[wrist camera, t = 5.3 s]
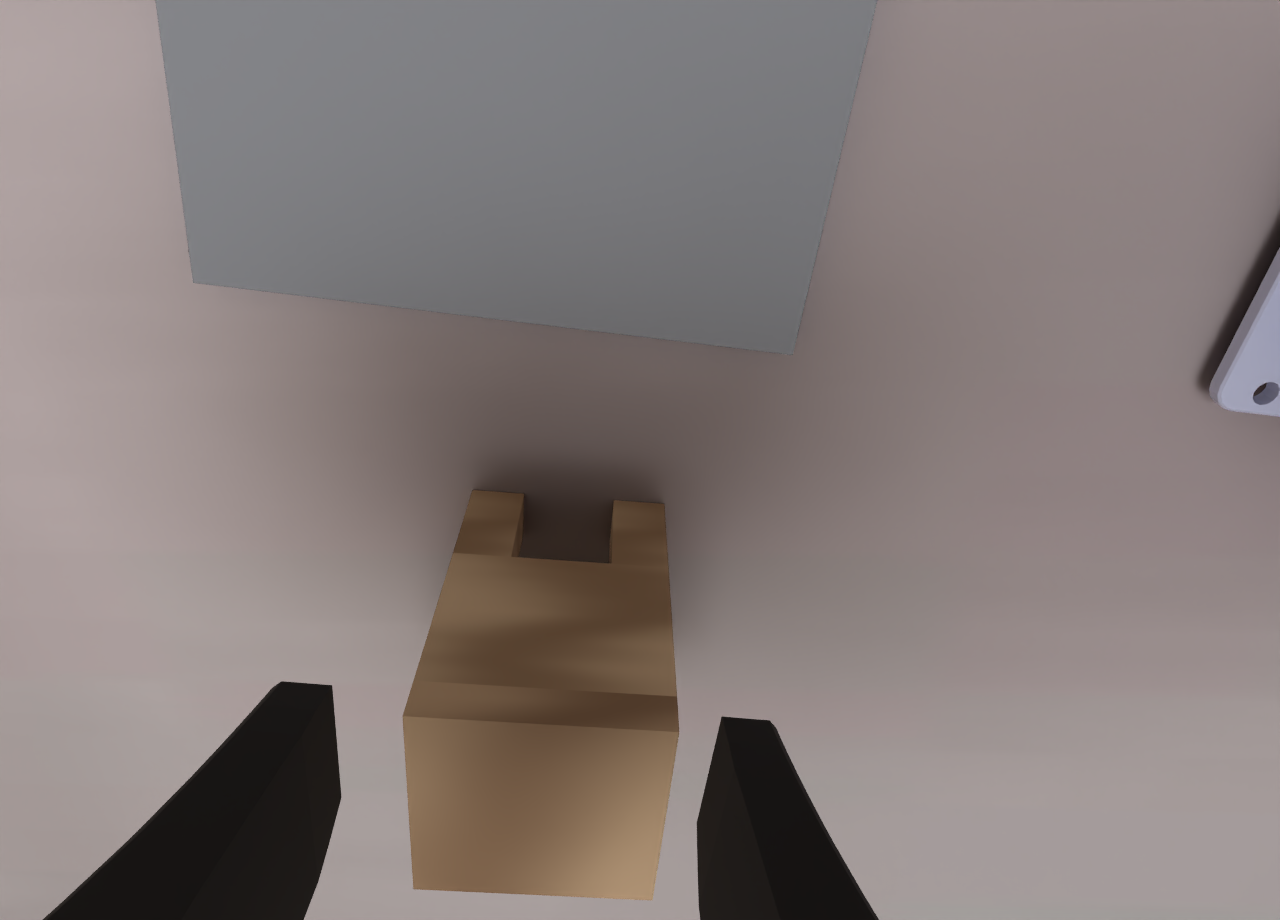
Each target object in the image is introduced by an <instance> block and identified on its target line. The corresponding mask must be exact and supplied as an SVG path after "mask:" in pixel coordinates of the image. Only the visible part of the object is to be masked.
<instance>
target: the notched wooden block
mask: <svg viewBox="0 0 1280 920" xmlns="http://www.w3.org/2000/svg"><path fill="white" fill-rule="evenodd" d="M523 516H524V494H522V493H508V492H494V491H480V490H472V493H471V497H470V500H469V503H468V506H467V510H466V513H465V516H464V519H463V522H462V526H461V529H460V532H459V535H458V539H457V542H456V545H455V548H454V552H453V555H452V558H451V561H450V565H449V568H448V571H447V574H446V578H445V581H444V584H443V587H442V590H441V594H440V597H439V600H438V603H437V607H436V610H435V613H434V616H433V620H432V623H431V626H430V629H429V633H428V636H427V639H426V642H425V646H424V649H423V652H422V655H421V658H420V662H419V665H418V668H417V671H416V675H415V678H414V681H413V684H412V688H411V691H410V694H409V697H408V701H407V704H406V707H405V710H404V714H403V729H404V745H405V761H406V777H407V793H408V809H409V825H410V841H411V857H412V873H413V889H422V890H443V891H464V892H486V893H507V894H528V895H550V896H571V897H592V898H613V899H635V900H652V899H653V893H654V887H655V881H656V874H657V868H658V862H659V856H660V849H661V843H662V837H663V831H664V824H665V818H666V812H667V806H668V799H669V793H670V787H671V781H672V774H673V768H674V762H675V756H676V749H677V743H678V737H679V721H678V705H677V690H676V675H675V659H674V644H673V629H672V613H671V598H670V583H669V568H668V552H667V537H666V522H665V506H664V504H660V503H646V502H633V501H619V500H614V502H613V513H612V524H611V535H610V552H609V563H595V562H580V561H566V560H551V559H536V558H521V557H519V554H520V548H521V543H522V538H523Z"/></svg>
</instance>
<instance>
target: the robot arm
mask: <svg viewBox="0 0 1280 920" xmlns="http://www.w3.org/2000/svg"><path fill="white" fill-rule="evenodd" d="M1264 383H1267V385H1266V388H1265V389H1264V390H1263V391H1262V392H1261V393H1259V394H1258V395H1256V396H1253V395H1254V392H1255V391H1256V389H1257V388H1258V387H1259V386H1261V385H1263V384H1264ZM1209 393H1210V397H1211V398H1212V399H1213V401H1214V402H1215V403H1217V404H1218V405H1219V406H1221V407H1222V408H1224V409H1227V410H1229V411H1235V412H1243V413H1252V414H1260V415H1268V416H1276V417H1280V248H1279V250H1278V252H1277V254H1276V256H1275V258H1274V260H1273V262H1272V264H1271V265H1270V267H1269V269H1268V271H1267V273H1266V275H1265V277H1264V279H1263V281H1262V283H1261V285H1260V287H1259V289H1258V291H1257V293H1256V295H1255V297H1254V299H1253V301H1252V303H1251V305H1250V307H1249V309H1248V310H1247V312H1246V314H1245V316H1244V318H1243V320H1242V322H1241V324H1240V326H1239V328H1238V330H1237V332H1236V334H1235V336H1234V338H1233V340H1232V342H1231V344H1230V346H1229V348H1228V350H1227V352H1226V354H1225V355H1224V357H1223V359H1222V361H1221V363H1220V365H1219V367H1218V369H1217V371H1216V373H1215V375H1214V377H1213V379H1212V381H1211V384H1210V388H1209ZM340 800H341V788H340V776H339V764H338V751H337V739H336V727H335V715H334V703H333V691H332V685H319V684H307V683H295V682H282V681H281V682H280V683H279V684H277V685H276V686H274V687H273V688H272V689H271V690H270V691H269V692H268V694H267V695H266V696H265V697H264V698H263V699H262V700H261V701H260V703H259V704H258V705H257V706H256V707H255V708H254V709H253V710H252V712H251V713H250V714H249V715H248V716H247V717H246V718H245V719H244V720H243V722H242V723H241V724H240V725H239V726H238V727H237V728H236V729H235V730H234V732H233V733H232V734H231V735H230V736H229V737H228V738H227V739H226V740H225V741H224V742H223V744H222V745H221V746H220V747H219V748H218V749H217V750H216V751H215V752H214V753H213V754H212V755H211V756H210V757H209V759H208V760H207V761H206V762H205V763H204V764H203V765H202V766H201V767H200V768H199V769H198V770H197V771H196V772H195V773H194V774H193V776H192V777H191V778H190V779H189V780H188V781H187V782H186V783H185V784H184V785H183V786H182V787H181V788H180V789H179V790H178V791H177V792H176V793H175V794H174V795H173V796H172V797H171V798H170V799H169V800H168V801H167V802H166V803H165V804H164V805H163V806H162V807H161V808H160V809H159V810H158V811H157V812H156V813H155V814H154V815H153V816H152V817H151V818H150V819H149V820H148V821H147V822H146V823H145V824H144V825H143V826H142V827H141V828H140V829H139V830H138V831H137V832H136V833H135V834H134V835H133V836H132V837H131V838H130V839H129V840H128V841H127V842H126V843H125V844H124V845H123V846H122V847H121V848H120V849H119V850H118V851H116V852H115V853H114V854H113V855H112V856H111V857H110V858H109V859H108V860H107V861H106V862H105V863H104V864H103V865H101V866H100V867H99V868H98V869H97V870H96V871H95V872H94V873H93V874H92V875H91V876H90V877H89V878H88V879H86V880H85V881H84V882H83V883H82V884H81V885H80V886H79V887H78V888H77V889H76V890H75V891H74V892H73V893H71V894H70V895H69V896H68V897H67V898H66V899H65V900H64V901H63V902H62V903H61V904H60V905H59V906H57V907H56V908H55V909H54V910H53V911H52V912H51V913H50V914H48V915H47V916H46V917H45V918H44V919H43V920H304V917H305V914H306V912H307V909H308V907H309V904H310V902H311V899H312V896H313V894H314V891H315V888H316V886H317V883H318V880H319V877H320V873H321V870H322V866H323V863H324V859H325V856H326V852H327V849H328V845H329V842H330V838H331V834H332V830H333V827H334V823H335V819H336V815H337V812H338V808H339V804H340ZM697 854H698V893H699V911H700V920H879V919H878V918H877V916H876V914H875V913H874V911H873V909H872V908H871V906H870V904H869V903H868V901H867V900H866V898H865V896H864V895H863V893H862V891H861V889H860V888H859V886H858V884H857V883H856V881H855V879H854V877H853V876H852V874H851V872H850V870H849V869H848V867H847V865H846V863H845V862H844V860H843V858H842V857H841V855H840V853H839V851H838V850H837V848H836V846H835V844H834V843H833V841H832V839H831V837H830V835H829V833H828V832H827V830H826V828H825V826H824V824H823V822H822V821H821V819H820V817H819V815H818V813H817V811H816V809H815V807H814V805H813V803H812V801H811V800H810V798H809V796H808V794H807V792H806V790H805V788H804V786H803V784H802V782H801V780H800V778H799V776H798V774H797V772H796V770H795V768H794V766H793V764H792V762H791V759H790V757H789V755H788V753H787V751H786V749H785V747H784V745H783V742H782V740H781V738H780V736H779V734H778V731H777V729H776V727H775V726H774V725H773V724H772V723H771V722H770V721H768V720H756V719H744V718H731V717H722V718H721V722H720V727H719V731H718V735H717V739H716V744H715V748H714V752H713V756H712V761H711V765H710V769H709V774H708V778H707V782H706V786H705V791H704V795H703V799H702V803H701V808H700V812H699V816H698V820H697Z"/></svg>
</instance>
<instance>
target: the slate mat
mask: <svg viewBox="0 0 1280 920" xmlns="http://www.w3.org/2000/svg"><path fill="white" fill-rule="evenodd" d="M876 4H877V0H156V8H157V15H158V23H159V30H160V38H161V45H162V53H163V60H164V68H165V75H166V83H167V90H168V98H169V105H170V113H171V120H172V128H173V135H174V143H175V150H176V158H177V165H178V173H179V180H180V188H181V195H182V203H183V210H184V218H185V225H186V233H187V240H188V248H189V255H190V263H191V270H192V278H193V283H199V284H207V285H216V286H224V287H232V288H240V289H249V290H257V291H265V292H274V293H282V294H290V295H298V296H307V297H315V298H323V299H332V300H340V301H348V302H356V303H365V304H373V305H381V306H390V307H398V308H406V309H414V310H423V311H431V312H439V313H448V314H456V315H464V316H472V317H481V318H489V319H497V320H506V321H514V322H522V323H530V324H539V325H547V326H555V327H564V328H572V329H580V330H588V331H597V332H605V333H613V334H622V335H630V336H638V337H646V338H655V339H663V340H671V341H680V342H688V343H696V344H704V345H713V346H721V347H729V348H738V349H746V350H754V351H762V352H771V353H779V354H787V355H793V352H794V347H795V343H796V339H797V335H798V331H799V326H800V322H801V318H802V314H803V310H804V305H805V301H806V297H807V293H808V289H809V285H810V280H811V276H812V272H813V268H814V264H815V259H816V255H817V251H818V247H819V243H820V238H821V234H822V230H823V226H824V222H825V218H826V213H827V209H828V205H829V201H830V197H831V192H832V188H833V184H834V180H835V176H836V171H837V167H838V163H839V159H840V155H841V150H842V146H843V142H844V138H845V134H846V130H847V125H848V121H849V117H850V113H851V109H852V104H853V100H854V96H855V92H856V88H857V83H858V79H859V75H860V71H861V67H862V63H863V58H864V54H865V50H866V46H867V42H868V37H869V33H870V29H871V25H872V21H873V16H874V12H875V8H876Z"/></svg>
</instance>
